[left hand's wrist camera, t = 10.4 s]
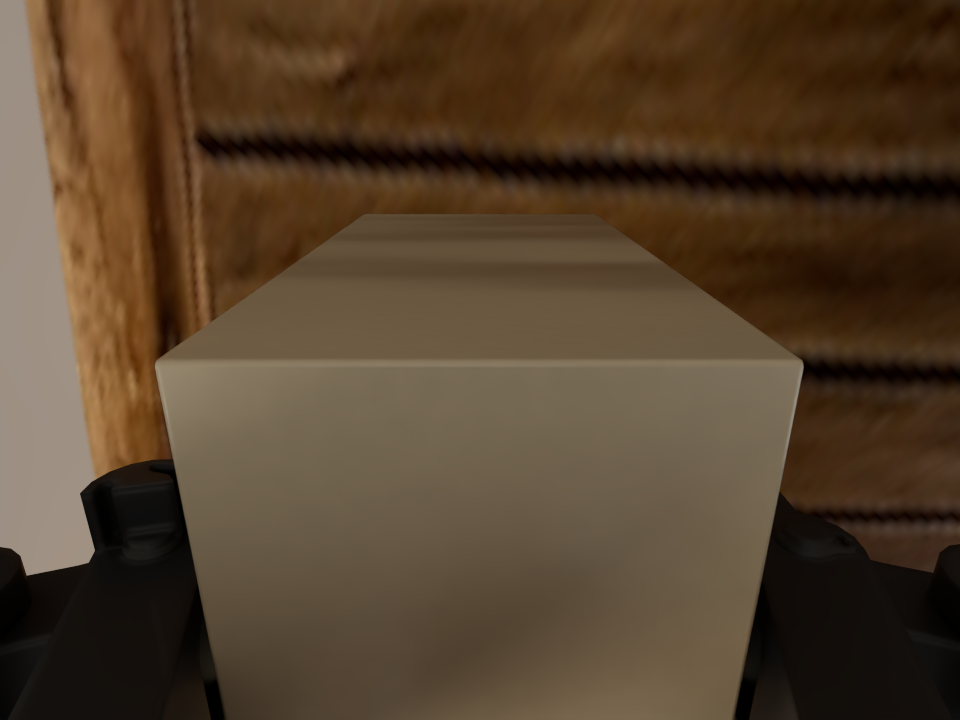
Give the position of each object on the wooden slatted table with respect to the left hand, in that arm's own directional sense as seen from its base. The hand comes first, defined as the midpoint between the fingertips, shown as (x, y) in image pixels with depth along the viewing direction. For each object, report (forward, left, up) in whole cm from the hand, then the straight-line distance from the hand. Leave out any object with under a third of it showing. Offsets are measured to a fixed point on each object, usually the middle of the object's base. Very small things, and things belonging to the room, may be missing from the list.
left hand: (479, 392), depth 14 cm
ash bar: (0, +8, 0) cm, 8 cm away
